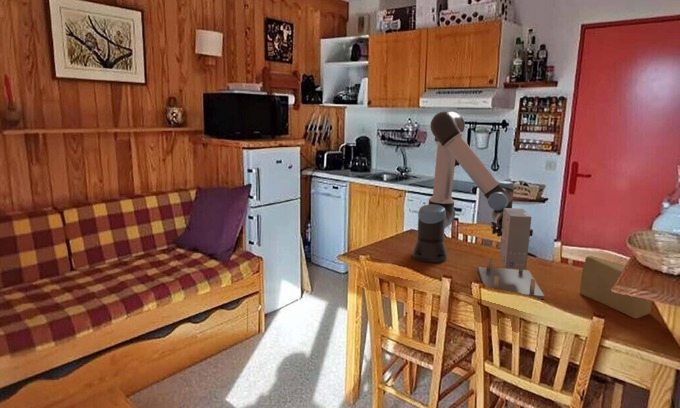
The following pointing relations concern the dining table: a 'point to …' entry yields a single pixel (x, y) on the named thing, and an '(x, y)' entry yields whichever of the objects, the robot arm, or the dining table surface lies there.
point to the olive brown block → (609, 287)
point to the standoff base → (510, 280)
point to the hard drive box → (515, 238)
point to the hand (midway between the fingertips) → (516, 237)
